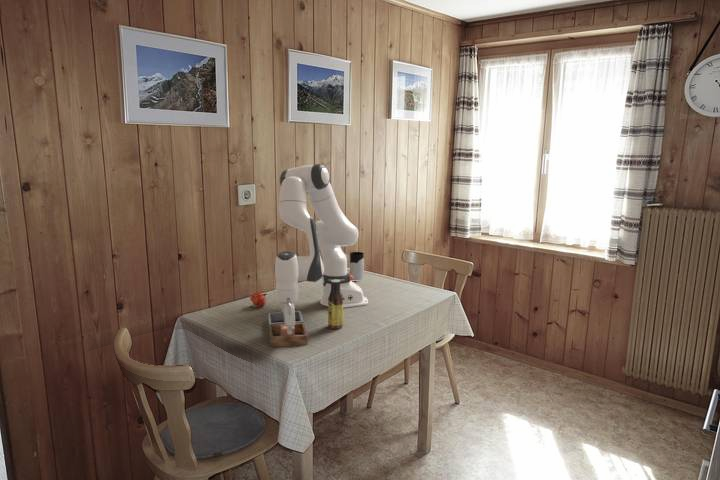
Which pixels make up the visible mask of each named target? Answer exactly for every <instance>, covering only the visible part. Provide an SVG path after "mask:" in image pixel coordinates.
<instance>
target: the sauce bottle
mask: <svg viewBox="0 0 720 480" xmlns="http://www.w3.org/2000/svg"><path fill="white" fill-rule="evenodd" d="M340 284H341V281H340V280H338V279H334V280H331V292H330V295H329V298H328V306H327V324H328V327H329V328H330V329H332V330H333V329H334V330H336V329H337V330H338V329H341V328H343V326H344V308H343V295H342V294H341V292H340Z"/></svg>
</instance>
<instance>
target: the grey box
mask: <svg viewBox="0 0 720 480" xmlns="http://www.w3.org/2000/svg"><path fill="white" fill-rule="evenodd" d="M267 316H268V320H267V321H268V326H269V325H280V324H285V322H283V321H284V316H283V311H279V312H268V313H267ZM297 320H298V321H297ZM278 321H279V322H278ZM281 321H282V322H281ZM295 323H304V324H305V322H304V319H303V315H302V312H301V310H295ZM268 332H269V333H270V330H268Z"/></svg>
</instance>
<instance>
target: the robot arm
mask: <svg viewBox="0 0 720 480" xmlns="http://www.w3.org/2000/svg"><path fill="white" fill-rule="evenodd" d="M330 181H331V175H330V171H329V169H328V168H327V166H325V165H324V164H320V163H319V164H318V163H315V164H307V165H306V164H305V165H301V166H296V167H292V168H287V169H285V170H283V171H282V172H281V173H280V176H279V186H280V189H279V190H280V191H279V196H278V197H279V198H278V215H279V218H280V220H282V221H283V222H284V223H285V224H287V225H288V226H290V227H293V228H295V229H297V230H300V231H302V232H304V234H306V237H307V243H308V248H309V255H307V256H306V255H305V256H299V255H298V256H297V254H296V253H295V252H294V251H289V250H286V251H282V252H279V253H277V255H276V257H275V264H274V265H273V266H274V267H273V268H274V269H273V270H274V272H273V273H274V277H275V281H276V282H275V283H276V284H275V301H276V302H279V305H280V306H281V312H283V316H284V320H283V321H284V322H285V326H286V327H287V334H288V335H290V334H292V327H293V326H295V322H296V320H295V311H296V309H295V305H296V304H297V302H298V301H299V300H300V285H299V282H310V283H311V282H312V283H313V282H314V283H316V282H318V281H320V279H322V283H321V284H322V293H321V299H320V302H319V303H320V304H321V305H322V306H324V307H325V306H326V307H328V298H329V295H330V292H331V280H334V279H338V280H340V281H341V284H340V292H341V294H342V295H343V309H345V308H346V309H347V308H352V307H353V308H354V307H360V306H361V307H362V306H367V305H368V304H369V299H368V297H366V296H364V292H363V289H362V288H361V287H360V286H359V285H358V284H357V283H356V282H352V281H351V280H353V276H352V275H351V274H350V273H349V272H348V271H347V270H348V257H347V255H345V254H346V253H345V252H344V251H343V249H342V247H352V246H354V245H355V244H357V242H358V240H359V229H358V227H356V226H355V224H353V223H352V222H350V221H349V219H348V218H347V216H346V215H345V214H344V212H343V210H342V209H341V208H340V206H339V203H338V201H337V198H336V196H335V195H336V194H335V192H334V190H333V187H332V185H331V183H330ZM307 195H308V198H309V200H310V204H311V206H312V209H313V212H314V215H315V216H316V217H317V218H318V219H319V220H317V221H315V218H314V216H312V215H310V213H309V211H308V208H307V205H308V203H307Z"/></svg>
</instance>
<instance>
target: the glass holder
mask: <svg viewBox="0 0 720 480" xmlns="http://www.w3.org/2000/svg"><path fill="white" fill-rule="evenodd" d="M349 253H350V254H349V255H348V254H347V253H344V254H345V255H346V257H347V263H349V269H347V273H349V274H351V275H352V276H353V280H363V279H365V258H364V257H365V255H364V252H362V251H361V252H360V251H352V252H349Z"/></svg>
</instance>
